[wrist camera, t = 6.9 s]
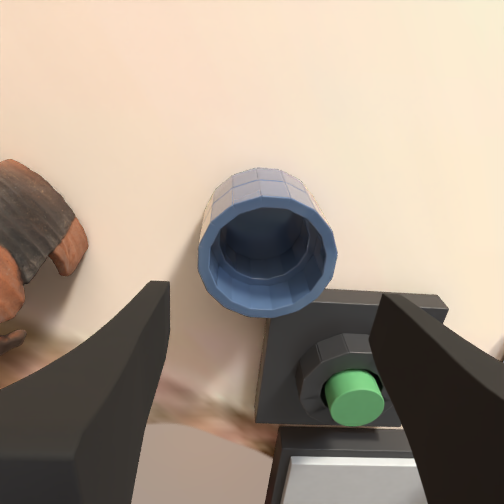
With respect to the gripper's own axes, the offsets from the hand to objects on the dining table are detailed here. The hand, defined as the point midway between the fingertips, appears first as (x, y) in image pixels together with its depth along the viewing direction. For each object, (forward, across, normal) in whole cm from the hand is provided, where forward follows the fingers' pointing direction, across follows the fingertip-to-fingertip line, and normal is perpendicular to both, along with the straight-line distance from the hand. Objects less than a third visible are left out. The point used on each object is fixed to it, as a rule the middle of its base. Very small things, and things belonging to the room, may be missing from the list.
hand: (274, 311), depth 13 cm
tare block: (+8, -6, +9) cm, 13 cm away
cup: (+8, 0, 0) cm, 8 cm away
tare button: (+5, -6, +9) cm, 12 cm away
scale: (+8, -10, +22) cm, 25 cm away
